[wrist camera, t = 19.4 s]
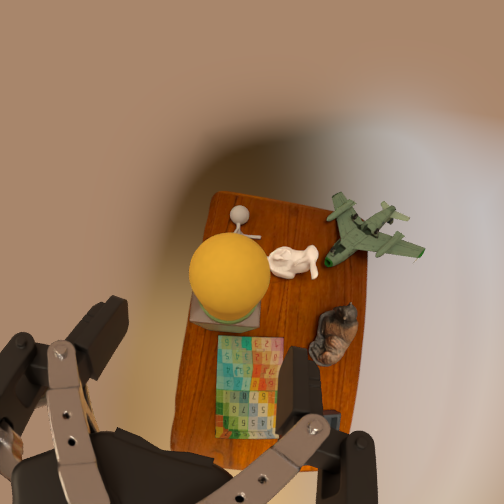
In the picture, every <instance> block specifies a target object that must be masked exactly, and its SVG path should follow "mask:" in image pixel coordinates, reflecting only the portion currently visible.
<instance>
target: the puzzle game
mask: <svg viewBox="0 0 504 504" xmlns="http://www.w3.org/2000/svg"><path fill="white" fill-rule="evenodd" d="M283 339H284V337H246V336H226V335H218V356H217V383H216V421H215V438H228V439H276V438H279V435H278V434H275V426H276V409H277V390H278V375H279V370H280V367H281V365H282V363H283Z"/></svg>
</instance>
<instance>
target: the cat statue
mask: <svg viewBox="0 0 504 504" xmlns="http://www.w3.org/2000/svg"><path fill="white" fill-rule="evenodd" d="M356 317H357V310H356V308H355V307H354V306H353V305H352V302H350V303H349V305H347V306H339V307H335V308H333V310H332V311H328V312H325V313H323V314H322V315H321V316H320V319H319V325H318V330H317V336H316V339H315V341H314V342H312V343H310V346H309V354H310V356H311V358H312V359H313V360H314V361H315V363H316V364H318V365H320V366H331V365H332V364H335V363H337V362H338V361H339V360H340V359H341V358H342V356H343V355H344V352H345V350H346V349H347V348H348V346H349V344H350V343H351V341H352V340H353V338H354V337H355V335H356V332H357V328H358V322H357V319H356Z"/></svg>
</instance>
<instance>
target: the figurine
mask: <svg viewBox="0 0 504 504" xmlns="http://www.w3.org/2000/svg"><path fill="white" fill-rule="evenodd" d="M230 217H231V220H232V221H233V222H234V223H235V224H237V228H236V230H235V231H234V233H238V234H241V235H244V234H243V233H242V232H241V231H240V225H241V224H244V223H246V222H247V220H248V219H249V212H248V210H247V208H245V207H244V206H236V207H234V208H233V209H232V210H231V213H230ZM244 236H247V237H249V238H253V239H261V236H254V235H244Z"/></svg>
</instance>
